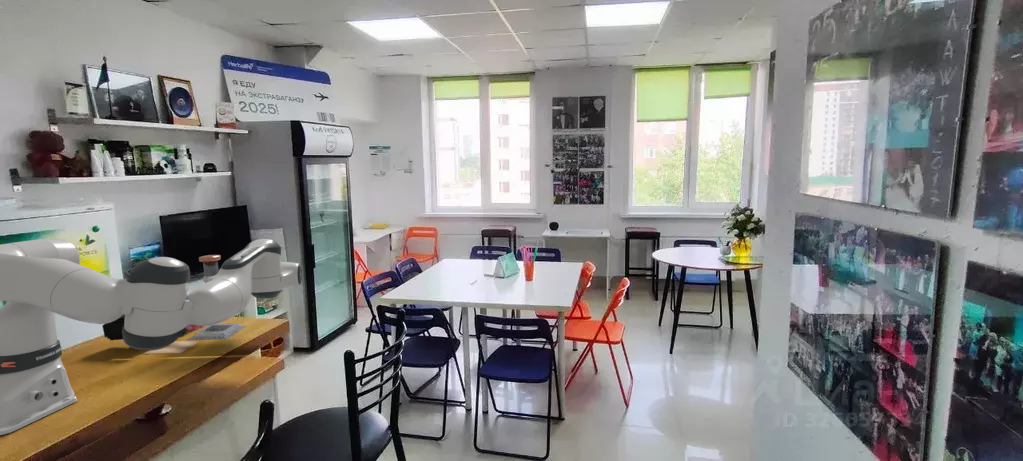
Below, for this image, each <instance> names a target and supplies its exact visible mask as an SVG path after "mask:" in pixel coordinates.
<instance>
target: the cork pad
mask: <svg viewBox="0 0 1023 461" xmlns="http://www.w3.org/2000/svg"><path fill="white" fill-rule="evenodd" d="M199 342H201V340H182V341H181V340H180V341H177V340H176V341H174V342H173V343H171V344H170V345H168V346H166V347H164V348H161V349H157V350H146V351H145V352H143V353H142V355H164V354H165V355H166V354H167V355H169V354H182V353H183V352H185V351H187V350H188V349H190V348H192V347H194V346H195V345H196V344H198V343H199Z"/></svg>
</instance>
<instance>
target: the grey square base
mask: <svg viewBox="0 0 1023 461" xmlns="http://www.w3.org/2000/svg"><path fill="white" fill-rule="evenodd" d="M246 327H247V325H240V324H239V323H217V324H213V325H207V326H204V328H202V329H201V330H198V331H197V332H195V333H194V335H192V336H191V337H189V338H187V339H186V341H213V340H215V341H217V340H220V341H221V340H222V341H223V340H229V339H230V338H232V337H234V336H235V335H236V334H238V333H239V332H240V331H242V330H243V329H244V328H246Z"/></svg>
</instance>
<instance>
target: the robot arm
mask: <svg viewBox="0 0 1023 461" xmlns="http://www.w3.org/2000/svg"><path fill="white" fill-rule="evenodd" d="M281 257H282V246H281V245H280V244H279V243H278V242H277V241H276V240H274V239H270V238H259V239H255V240H253V241H250V242H249V243H248V244H247V245H246V246H245V247H244V248H243V249H241V250H240V251H238V252H237V253H235V254H234V255H232V256H231V257H229V258H227V259H226V260H225V261H224V262H223V264H222V265H221V267H220V268H219V269H218V273H217V274H216V275H214V276H205V275H204V276H203V277H202V279H203V282H204V283H202V284H201V285H199V286H197V287H195V289H193V290H191V291H188V289H189V283H190V280H191V271H190V267H189V265H188V264H187V263H185V262H184V261H181V260H178V259H176V258H173V257H168V256H158V257H149V258H147V259H145V260H142V261H140V262H138V263H137V264H135V265H134V266H133V267H130V268H127V269H126V270H125V271H124V273H123V275H124V277H126V278H114V277H111V276H109V275H106V274H104V273H102V272H100V271H98V270H95V269H92V268H89V267H87V266H85V265H81V255H80V252H79V250H78V248H77V247H76V246H75V245H74V244H73V243H71V242H70V241H68V240H65V239H56V238H55V239H54V238H41V239H40V238H38V239H32V240H23V241H17V242H16V241H15V242H9V243H2V244H0V301H1V302H6V303H5V304H4V305H2V307H0V436H2V435H3V436H4V435H8V434H10V433H12V432H15V431H17V430H19V429H21V428H23V427H25V426H28V425H29V424H32V423H34V422H36V421H38V420H40V419H43V418H45V417H46V416H49V415H51V414H53V413H55V412H57V411H59V410H61V409H64V408H65V407H68V406H70V405H72V404H74V403H76V402H78V399H77V396H76V395H75V391H74V390H73V388H72V386H71V384H70V379H69V377H68V373H67V370H66V368H65V366H64V364H63V362H62V359H61V358H62V357H61V356H62V355H63V353H62V345H61V341H60V340H59V339H58V336H57V327H56V314H57V315H60V316H62V317H65V318H68V319H70V320H75V321H78V322H83V323H88V324H95V325H104V324H106V323H110V322H113V321H115V320H117V319H118V318H120V317H121V316H122V315H123V314H125V321H124V326H123V328H122V334H123V339H122V340H123V343H124V344H125V345H127V346H128V347H131V348H132V349H135V350H140V351H149V350H157V349H161V348H164V347H166V346H168V345H170V344H171V343H173V342H174V341H177V340H178V339H179V338H182V337H183V338H184V337H185V335H186V334H187V332H188V331H187V329H186V326H188V325H198V326H204V327H207V326H209V325H213V324H221V323H223V322H225V321H228V320H229V319H232V318H234V317H235V316H236V317H237V315H239V314H241V313H242V312H243V311H244V310H245V309H246V308H247V306H248V305H249V304H250V301H251V298H252V297H255V299H274V298H277V297H278V296H279V295H280V294H281V293H282V291H283V290H284V289H288V288H295V287H299V286H300V285H301V284H302V282H303V269H302V266H301V264H300V263H299V262H298V263H297V262H290V261H282V258H281ZM205 282H206V283H205Z"/></svg>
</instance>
